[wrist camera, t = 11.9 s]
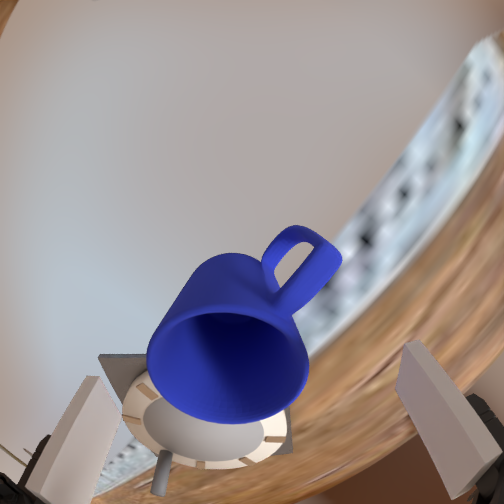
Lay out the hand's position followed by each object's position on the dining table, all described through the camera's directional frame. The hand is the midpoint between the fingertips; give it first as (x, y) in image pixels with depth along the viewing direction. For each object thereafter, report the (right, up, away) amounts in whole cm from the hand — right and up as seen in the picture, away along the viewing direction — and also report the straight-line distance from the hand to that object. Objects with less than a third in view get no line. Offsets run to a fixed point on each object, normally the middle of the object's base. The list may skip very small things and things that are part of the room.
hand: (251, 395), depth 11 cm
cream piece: (-5, -12, +17) cm, 21 cm away
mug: (0, +4, +12) cm, 13 cm away
